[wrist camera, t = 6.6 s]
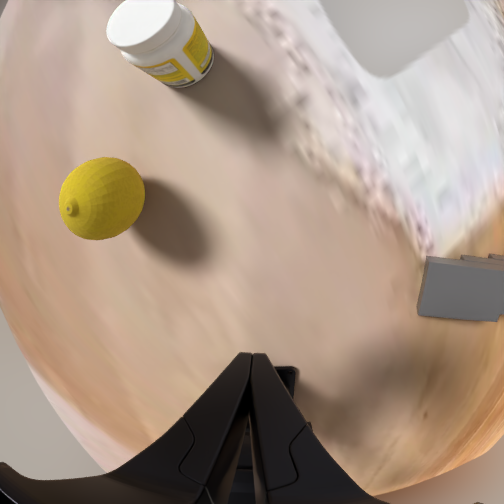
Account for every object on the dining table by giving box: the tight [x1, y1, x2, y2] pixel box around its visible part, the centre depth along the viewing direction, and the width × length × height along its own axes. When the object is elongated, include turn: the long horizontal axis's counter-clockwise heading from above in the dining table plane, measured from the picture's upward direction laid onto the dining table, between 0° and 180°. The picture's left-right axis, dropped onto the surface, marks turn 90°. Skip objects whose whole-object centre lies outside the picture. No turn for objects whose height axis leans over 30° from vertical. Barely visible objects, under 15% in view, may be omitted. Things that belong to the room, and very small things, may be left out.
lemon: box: [59, 157, 145, 240], centre depth 16 cm, size 6×6×8 cm
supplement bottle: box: [107, 0, 214, 88], centre depth 13 cm, size 5×5×8 cm
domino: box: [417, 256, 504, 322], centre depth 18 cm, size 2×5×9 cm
